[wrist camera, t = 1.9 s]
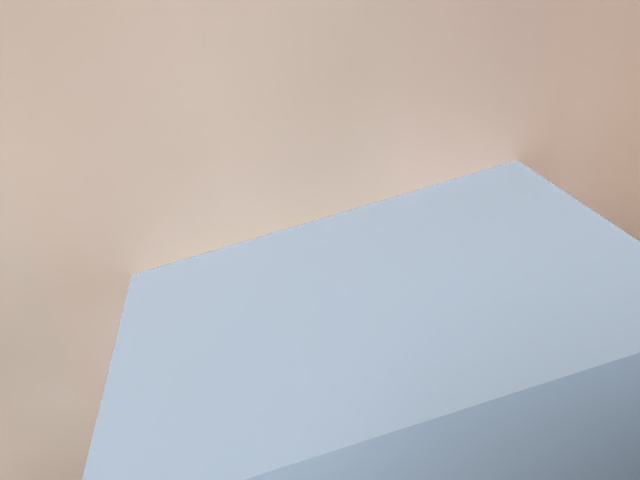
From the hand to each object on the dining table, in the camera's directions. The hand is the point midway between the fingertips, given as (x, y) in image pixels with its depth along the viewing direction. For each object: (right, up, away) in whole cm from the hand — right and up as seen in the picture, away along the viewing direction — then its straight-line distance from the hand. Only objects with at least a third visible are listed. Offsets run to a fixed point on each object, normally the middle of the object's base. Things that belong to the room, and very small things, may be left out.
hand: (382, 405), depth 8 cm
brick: (0, +1, +1) cm, 1 cm away
